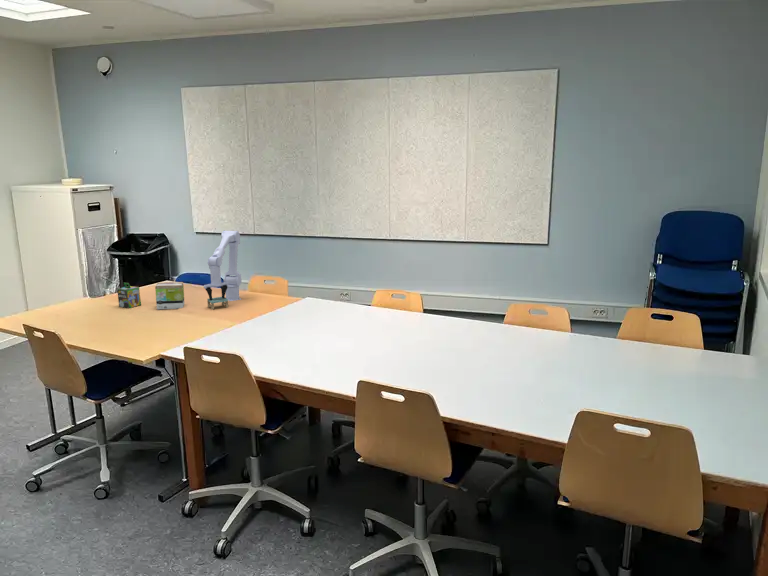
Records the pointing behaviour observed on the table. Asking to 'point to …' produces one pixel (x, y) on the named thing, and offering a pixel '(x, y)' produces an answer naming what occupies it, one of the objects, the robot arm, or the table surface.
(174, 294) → the tea box
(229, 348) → the table surface
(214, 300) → the footstool
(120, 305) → the chalk box
